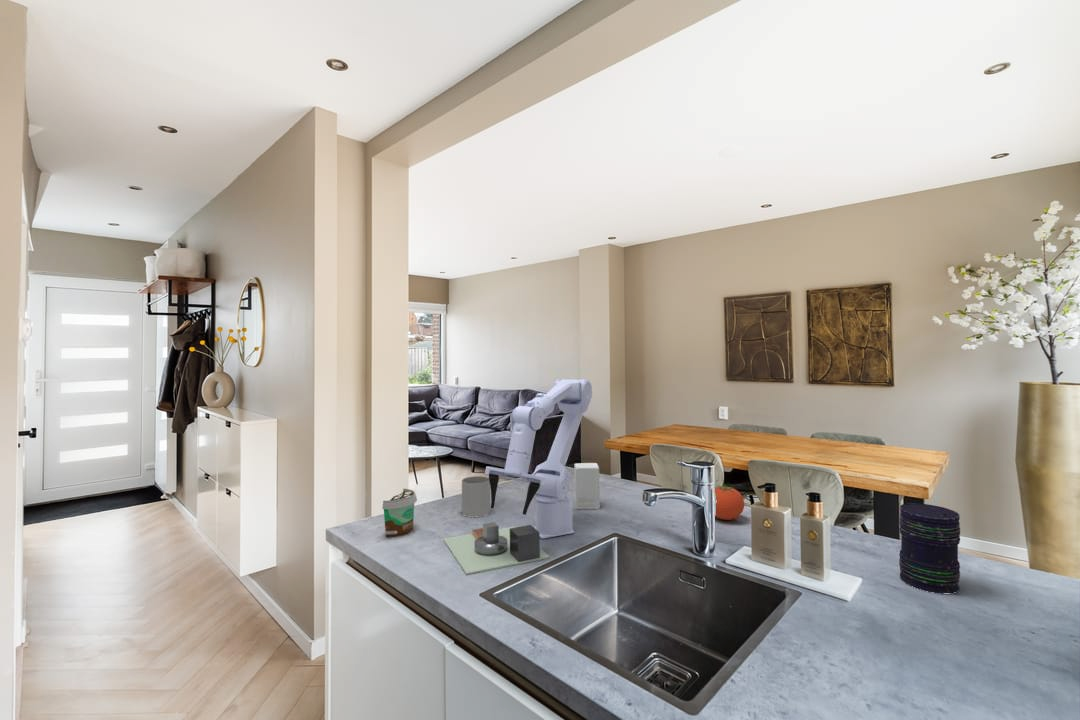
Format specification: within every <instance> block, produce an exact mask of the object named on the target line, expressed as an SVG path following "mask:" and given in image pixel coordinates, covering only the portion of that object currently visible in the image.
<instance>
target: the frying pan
mask: <svg viewBox="0 0 1080 720" xmlns="http://www.w3.org/2000/svg"><path fill="white" fill-rule="evenodd" d="M499 529H500V527H499V525H498V524H497V523H496V522H495V521H493V522H486V523H482V527H480V528H477V529H472V530H471V534H472V535H473V536H474V537H475V538H476V540H475V542H474V543H475V552H476V553H477V554H479V555H482V556H496V555H500V554H503V553H505V552H506V551H507V549H508V545H507V539H506V538H505V537H503V536H499Z"/></svg>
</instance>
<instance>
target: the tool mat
mask: <svg viewBox="0 0 1080 720" xmlns="http://www.w3.org/2000/svg"><path fill="white" fill-rule="evenodd" d="M515 527H517V526H516V525H514V526H509V527H504V528H499V536H503V537H505V538H506V539H507V545H508V549H507V551H506V552H505V553H503V554H500V555H496V556H482V555H479V554H477V553H476V552H475V543H474V542H475V540H476V538H475V537H474V536H473V535H472V533H468V534H463V535H457V536H452V537H450V536H449V537H444V538H443V539H442V540H443V542H444V543H445V545H446V547H447V548H448V550H449V551H450V552H451V554H452V555H453V557H454V558H455V560H456V562H457V563H458V564H459V566H460V568H461V569H462V571H463V572H464V573H465V575H466V576H467V575H473V574H479V573H483V572H488V571H489V572H490V571H494V570H497V569H503V568H507V567H513V566H517V565H523V564H528V563H532V562H537V561H541V560H546V559H550V555H548V554H547V553H546V552H545V551H544V550H543V549H542V548H540V558H536V559H531V560H526V561H521V562H518V561H517V560H516V559H515V558H514V557H513V556H512V555H511V554H510V528H515Z"/></svg>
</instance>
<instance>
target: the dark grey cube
mask: <svg viewBox="0 0 1080 720" xmlns="http://www.w3.org/2000/svg"><path fill="white" fill-rule="evenodd" d="M514 527H515V526H514ZM534 527H535V526H532V525H531V524H529V525H528V524H527V525H522V526H516V527H515V528H510V554H511V555H512V556H513V557H514V558H515V559H516V560H517V561H518V562H521V561H526V560H531V559H536V558H540V549H541V547H540V546H541V544H540V543H541V542H540V541H541V540H540V539H541V538H540V533H539V532H538V531H537V530H536V529H535V528H534Z"/></svg>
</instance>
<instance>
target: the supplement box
mask: <svg viewBox="0 0 1080 720" xmlns="http://www.w3.org/2000/svg"><path fill="white" fill-rule="evenodd" d="M573 466H574V469H573V471H574V473H573V474H574V478H573V479H574V504H575V505H574V506H575V508H576V509H575V510H600V508H601V505H600V504H601V501H600V499H601V498H600V493H601V492H600V467H599V464H598V463H596V462H583V463H582V462H581V463H574V465H573Z"/></svg>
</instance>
